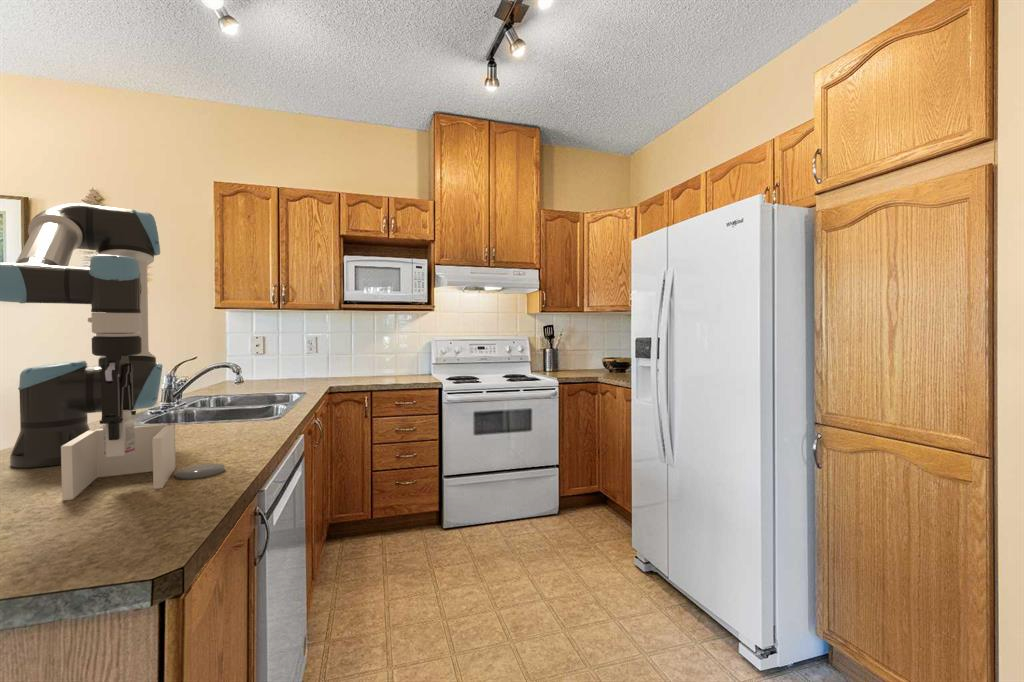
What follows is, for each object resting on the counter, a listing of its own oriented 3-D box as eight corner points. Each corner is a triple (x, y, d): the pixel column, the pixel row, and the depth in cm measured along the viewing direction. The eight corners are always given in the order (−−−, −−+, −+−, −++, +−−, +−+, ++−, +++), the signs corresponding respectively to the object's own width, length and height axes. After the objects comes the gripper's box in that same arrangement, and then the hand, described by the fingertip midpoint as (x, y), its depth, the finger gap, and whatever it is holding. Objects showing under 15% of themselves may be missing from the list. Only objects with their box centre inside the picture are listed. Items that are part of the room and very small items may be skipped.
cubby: (90, 476, 101) (89, 429, 100) (175, 467, 108) (174, 423, 107) (62, 500, 87) (60, 446, 86) (162, 487, 94) (161, 437, 93)
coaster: (178, 470, 105) (178, 466, 105) (225, 465, 109) (225, 461, 109) (171, 482, 97) (171, 478, 97) (223, 475, 101) (222, 472, 101)
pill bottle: (130, 448, 97) (129, 408, 97) (138, 453, 95) (137, 411, 94) (100, 454, 94) (99, 411, 93) (108, 458, 91) (107, 415, 90)
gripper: (105, 333, 99) (108, 442, 100) (76, 337, 83) (79, 467, 84) (150, 333, 102) (152, 439, 104) (130, 337, 87) (132, 462, 88)
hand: (119, 451), depth 94 cm, fingers closed on pill bottle, 5 cm apart
